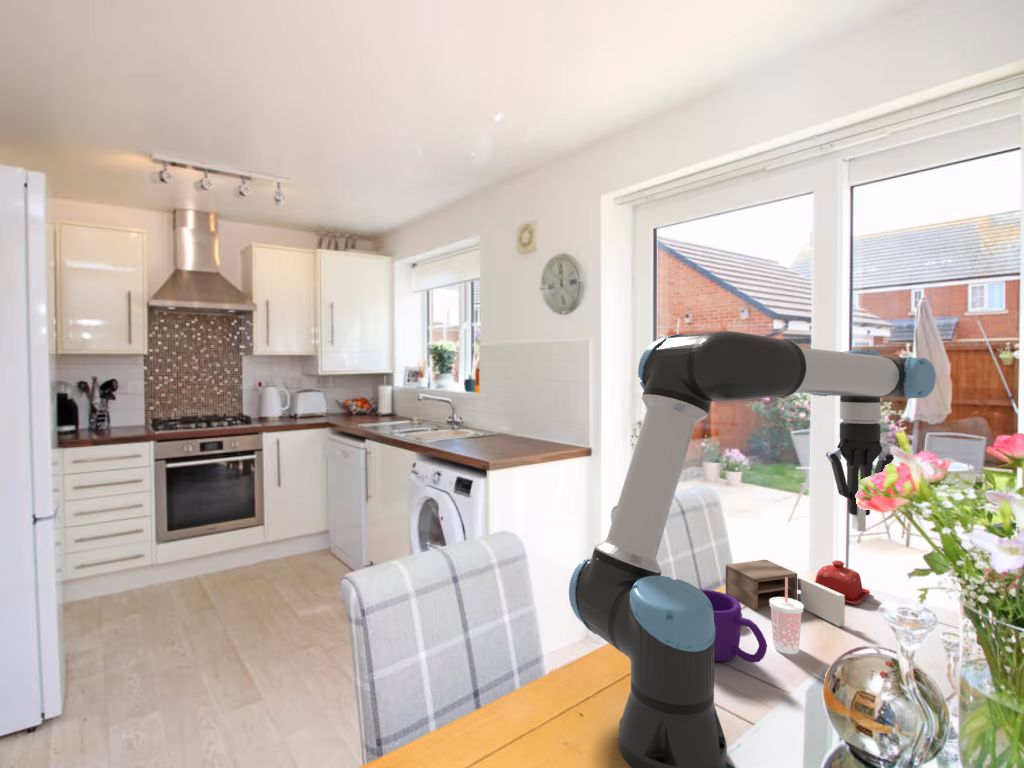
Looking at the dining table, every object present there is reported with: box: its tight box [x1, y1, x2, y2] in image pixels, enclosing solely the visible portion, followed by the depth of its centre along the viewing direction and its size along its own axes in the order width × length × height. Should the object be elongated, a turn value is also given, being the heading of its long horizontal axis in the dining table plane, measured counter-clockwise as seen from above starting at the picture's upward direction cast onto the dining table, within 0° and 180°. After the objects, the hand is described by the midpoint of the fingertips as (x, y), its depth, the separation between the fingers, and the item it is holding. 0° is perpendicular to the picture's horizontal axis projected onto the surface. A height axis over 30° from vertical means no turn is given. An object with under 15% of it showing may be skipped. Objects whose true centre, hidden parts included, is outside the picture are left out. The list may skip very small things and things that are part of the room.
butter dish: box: [814, 559, 871, 605], centre depth 135 cm, size 12×12×8 cm
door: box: [797, 577, 846, 627], centre depth 123 cm, size 12×3×6 cm, turn 17°
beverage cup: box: [769, 577, 804, 655], centre depth 109 cm, size 6×6×14 cm
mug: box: [700, 589, 768, 664], centre depth 106 cm, size 17×11×10 cm, turn 35°
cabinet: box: [725, 559, 798, 612], centre depth 132 cm, size 10×12×8 cm
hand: (858, 529), depth 120 cm, fingers closed
